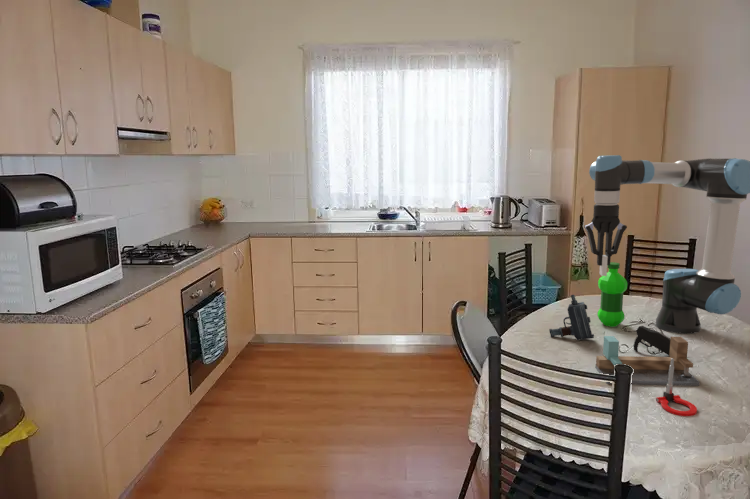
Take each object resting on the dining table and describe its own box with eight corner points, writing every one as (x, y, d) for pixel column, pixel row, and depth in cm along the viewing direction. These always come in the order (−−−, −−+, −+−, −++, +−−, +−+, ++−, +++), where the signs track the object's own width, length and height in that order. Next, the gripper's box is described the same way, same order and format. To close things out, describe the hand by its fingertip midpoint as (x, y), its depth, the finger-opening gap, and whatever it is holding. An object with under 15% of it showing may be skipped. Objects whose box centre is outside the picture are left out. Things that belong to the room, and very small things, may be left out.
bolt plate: (680, 369, 167) (681, 364, 166) (699, 385, 155) (699, 381, 155) (595, 367, 170) (595, 363, 169) (607, 383, 158) (607, 379, 158)
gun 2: (671, 374, 176) (689, 351, 172) (625, 345, 182) (641, 323, 178) (671, 371, 178) (689, 348, 174) (626, 343, 184) (642, 320, 180)
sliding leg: (612, 363, 169) (613, 336, 167) (623, 376, 159) (624, 347, 158) (602, 363, 170) (603, 335, 168) (612, 376, 160) (614, 347, 158)
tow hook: (704, 416, 139) (679, 398, 148) (709, 371, 136) (684, 356, 145) (674, 419, 138) (652, 401, 147) (679, 374, 135) (656, 358, 144)
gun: (542, 299, 199) (583, 292, 193) (553, 341, 200) (594, 335, 194) (541, 301, 197) (583, 294, 190) (552, 343, 198) (594, 337, 191)
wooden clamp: (680, 364, 167) (682, 336, 165) (695, 378, 157) (698, 348, 155) (595, 363, 170) (596, 335, 168) (604, 376, 160) (606, 347, 158)
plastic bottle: (620, 320, 214) (623, 260, 209) (627, 329, 203) (631, 266, 199) (594, 320, 215) (596, 260, 211) (600, 328, 205) (603, 266, 201)
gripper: (623, 202, 172) (619, 272, 177) (582, 203, 174) (579, 272, 178) (631, 204, 165) (627, 277, 169) (588, 205, 166) (585, 277, 171)
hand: (602, 274), depth 174 cm, fingers closed
